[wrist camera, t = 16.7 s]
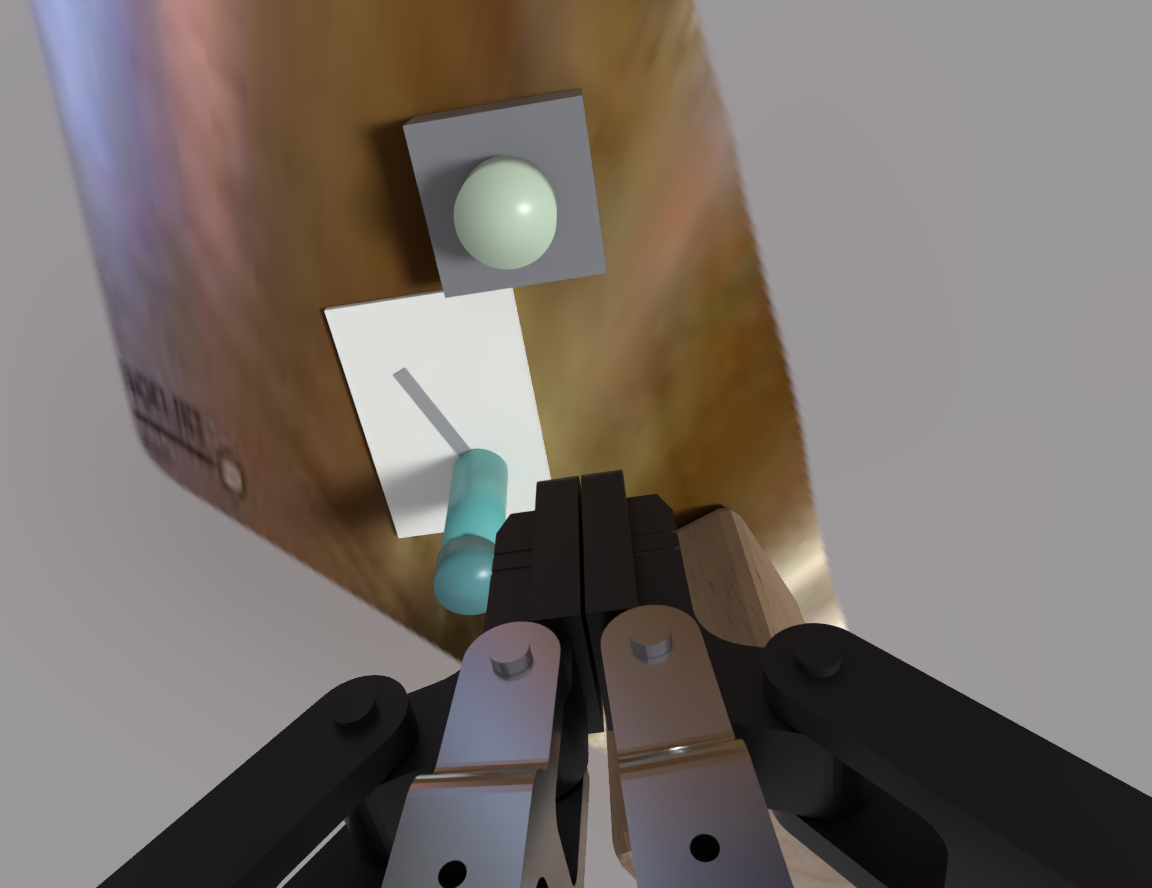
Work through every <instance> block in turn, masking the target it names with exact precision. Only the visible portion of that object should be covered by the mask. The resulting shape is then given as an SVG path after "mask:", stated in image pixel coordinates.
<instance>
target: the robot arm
mask: <svg viewBox="0 0 1152 888" xmlns="http://www.w3.org/2000/svg"><path fill="white" fill-rule="evenodd" d="M581 487H582V489H581ZM602 701H603V702H602ZM603 706H604V711H605V716H606V721H607V726H608V731H614V734H615V741H616V747H617V753H618V766H619V773H620V779H621V786H622V792H623V798H624V805H625V811H626V817H627V824H628V830H629V836H630V843H631V849H632V855H633V862H634V868H635V874H636V881H637V887H638V888H794V886H793V883H792V880H791V877H790V874H789V872H788V869H787V866H786V863H785V860H784V857H783V854H782V851H781V848H780V845H779V842H778V839H777V836H776V833H775V830H774V827H773V824H772V821H771V818H770V815H769V812H768V809H771V810H772V812H773V814H774V816H775V818H776V819H777V821H778V822H779V823H780V825H781V826H782V827H783V828H784V829H785V830H786V831H787V832H789V833H790V834H791V835H792V836H794V837H795V838H796V839H797V840H798V841H800V842H801V843H802V844H803V845H805V846H806V847H807V848H808V849H810V850H811V851H812V852H813V853H814V854H816V855H817V856H818V857H819V858H821V859H822V860H823V861H824V862H826V863H827V864H828V865H829V866H830V867H832V868H833V869H834V870H835V871H837V872H838V873H839V874H840V875H842V876H843V877H844V878H845V879H846V880H848V881H849V882H850V883H851V884H853V885H854V886H855V887H856V888H1152V797H1150V796H1148V795H1146V794H1144V793H1143V792H1141V791H1139V790H1137V789H1135V788H1133V787H1132V786H1130V785H1128V784H1126V783H1124V782H1123V781H1121V780H1119V779H1117V778H1115V777H1113V776H1112V775H1110V774H1108V773H1106V772H1104V771H1102V770H1101V769H1099V768H1097V767H1095V766H1093V765H1092V764H1090V763H1088V762H1086V761H1084V760H1082V759H1081V758H1079V757H1077V756H1075V755H1073V754H1071V753H1070V752H1068V751H1066V750H1064V749H1062V748H1060V747H1059V746H1057V745H1055V744H1053V743H1051V742H1049V741H1048V740H1046V739H1044V738H1042V737H1040V736H1039V735H1037V734H1035V733H1033V732H1031V731H1029V730H1028V729H1026V728H1024V727H1022V726H1020V725H1018V724H1017V723H1015V722H1013V721H1011V720H1009V719H1008V718H1006V717H1004V716H1002V715H1000V714H998V713H997V712H995V711H993V710H991V709H989V708H987V707H986V706H984V705H982V704H980V703H978V702H977V701H975V700H973V699H971V698H969V697H967V696H966V695H964V694H962V693H960V692H958V691H957V690H955V689H953V688H951V687H949V686H947V685H946V684H944V683H942V682H940V681H938V680H936V679H935V678H933V677H931V676H929V675H927V674H926V673H924V672H922V671H920V670H918V669H916V668H915V667H913V666H911V665H909V664H907V663H905V662H904V661H902V660H900V659H898V658H896V657H894V656H893V655H891V654H889V653H887V652H885V651H884V650H882V649H880V648H878V647H876V646H874V645H873V644H871V643H869V642H867V641H865V640H863V639H861V638H860V637H858V636H856V635H854V634H853V633H851V632H849V631H846V630H844V629H842V628H839V627H836V626H832V625H827V624H819V623H806V624H799V625H795V626H791V627H788V628H786V629H784V630H782V631H780V632H778V633H777V634H775V635H774V636H773V637H772V638H771V639H770V640H769V641H768V643H767V644H766V646H765V648H764V647H756V646H748V645H742V644H736V643H732V642H729V641H726V640H723V639H721V638H719V637H717V636H715V635H713V634H712V633H710V632H709V631H707V630H706V629H705V628H704V627H703V626H702V625H701V624H700V623H699V621H698V620H697V618H696V616H695V614H694V611H693V607H692V602H691V597H690V592H689V587H688V583H687V578H686V573H685V568H684V563H683V558H682V554H681V550H680V544H679V539H678V534H677V529H676V524H675V520H674V515H673V510H672V509H671V508H670V507H669V506H668V505H667V504H666V503H665V502H664V501H663V500H662V499H661V498H660V497H659V496H658V495H657V494H652V495H644V496H637V497H629V498H627V496H626V490H625V483H624V476H623V470H616V471H608V472H601V473H594V474H587V475H582V476H581V484H580V480H579V477H578V476H573V477H566V478H559V479H551V480H544V481H537V484H536V499H535V510H534V511H527V512H520V513H512V514H510V515H509V516H508V518H507V519H506V521H505V522H504V523H503V525H502V526H501V527H500V529H499V530H498V532H497V533H496V540H495V547H494V558H493V563H492V575H491V578H490V586H489V594H488V602H487V610H486V617H485V625H484V633H483V634H482V635H480V636H479V637H478V638H477V639H476V640H475V641H474V642H473V643H472V644H471V645H470V646H469V648H468V649H467V651H466V653H465V655H464V658H463V661H462V665H461V669H460V670H459V671H458V672H456V673H455V674H453V675H451V676H450V677H448V678H446V679H444V680H442V681H439V682H437V683H435V684H432V685H429V686H427V687H424V688H421V689H419V690H416V691H414V692H411V693H408V694H407V693H406V691H405V689H404V687H403V686H402V685H401V684H400V683H399V682H397V681H396V680H394V679H392V678H390V677H386V676H379V675H371V676H363V677H358V678H355V679H352V680H349V681H347V682H345V683H342V684H340V685H339V686H337V687H335V688H334V689H332V690H331V691H329V692H328V693H327V694H325V695H324V696H323V697H322V698H321V699H319V700H318V701H317V702H316V703H315V704H314V705H312V706H311V707H310V708H309V709H307V710H306V711H305V712H304V713H303V714H302V715H300V716H299V717H298V718H297V719H296V720H294V721H293V722H292V723H291V724H290V725H289V726H287V727H286V728H285V729H284V730H283V731H281V732H280V733H279V734H278V735H277V736H276V737H274V738H273V739H272V740H271V741H270V742H268V743H267V744H266V745H265V746H264V747H262V748H261V749H260V750H259V751H258V752H257V753H255V754H254V755H253V756H252V757H251V758H250V759H248V760H247V761H246V762H245V763H244V764H242V765H241V766H240V767H239V768H238V769H236V770H235V771H234V772H233V773H232V774H230V775H229V776H228V777H227V778H226V779H225V780H223V781H222V782H221V783H220V784H219V785H217V786H216V787H215V788H214V789H213V790H212V791H210V792H209V793H208V794H207V795H206V796H204V797H203V798H202V799H201V800H200V801H198V802H197V803H196V804H195V805H194V806H193V807H191V808H190V809H189V810H188V811H187V812H185V813H184V814H183V815H182V816H181V817H179V819H177V820H176V821H175V822H174V823H172V824H171V825H170V826H169V827H168V828H166V829H165V830H164V831H163V832H162V833H161V834H159V835H158V836H157V837H156V838H155V839H153V840H152V841H151V842H150V843H149V844H148V845H146V846H145V847H144V848H143V849H142V850H140V851H139V852H138V853H137V854H136V855H134V856H133V857H132V858H131V859H130V860H128V861H127V862H126V863H125V864H124V865H123V866H121V867H120V868H119V869H118V870H117V871H115V872H114V873H113V874H112V875H111V876H110V877H108V878H107V879H106V880H105V881H104V882H102V883H101V884H100V885H99V886H98V887H96V888H276V887H277V886H278V885H279V883H281V881H282V880H283V879H284V878H285V877H286V876H287V875H288V874H289V873H290V872H291V871H292V870H293V869H294V868H295V867H296V866H297V865H298V864H299V863H300V862H301V861H302V860H303V859H304V858H306V856H308V854H310V853H311V852H312V851H313V850H314V849H315V848H316V847H317V846H318V845H319V843H321V842H322V841H323V840H324V838H326V837H327V836H328V835H329V834H330V833H331V832H332V831H333V830H334V829H335V828H336V827H337V826H338V825H339V824H340V823H341V822H342V821H343V820H344V821H345V823H346V824H345V825H344V826H343V827H342V828H341V830H339V831H338V832H337V833H336V834H335V835H334V836H333V837H332V838H331V840H330V841H328V842H327V843H326V844H325V845H324V846H323V847H322V848H321V849H320V850H319V851H318V852H317V853H316V854H315V855H314V856H313V857H312V858H311V859H310V860H309V861H308V862H307V863H306V864H305V865H304V866H303V867H302V868H301V869H300V870H299V871H298V872H297V873H296V874H295V875H294V876H293V877H292V878H291V879H290V880H289V881H288V882H287V883H286V884H285V885H284V886H283V887H282V888H584V874H585V856H586V837H587V819H588V802H589V775H588V770H587V765H588V734H590V733H599V732H604V722H603Z"/></svg>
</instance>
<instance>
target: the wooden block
mask: <svg viewBox="0 0 1152 888" xmlns="http://www.w3.org/2000/svg"><path fill="white" fill-rule="evenodd" d="M677 534H678V539H679V544H680V550H681V554H682V558H683V563H684V568H685V573H686V578H687V583H688V587H689V592H690V597H691V602H692V607H693V611H694V614H695V616H696V618H697V620H698V621H699V623H700V624H701V625H702V626H703V627H704V628H705V629H706V630H707V631H709V632H710V633H712V634H713V635H715V636H717V637H719V638H721V639H723V640H726V641H729V642H732V643H736V644H742V645H748V646H756V647H764V648H765V646H766V644H767V643H768V641H769V640H770V639H771V638H772V637H773V636H774V635H775V634H777V633H778V632H780V631H782V630H784V629H786V628H788V627H791V626H795V625H799V624H805V623H804V620H803V618H802V615H801V612H800V610H799V607H798V604H797V602H796V600H795V599H794V597H793V595H792V594H791V592H790V591H789V589H788V588H787V586H786V585H785V583H784V582H783V580H782V579H781V577H780V576H779V574H778V573H777V571H776V570H775V568H774V566H773V565H772V563H771V562H770V560H769V559H768V557H767V556H766V554H765V553H764V551H763V550H762V548H761V547H760V545H759V544H758V542H757V540H756V539H755V537H754V536H753V534H752V533H751V531H750V530H749V528H748V527H747V525H746V524H745V522H744V521H743V519H742V518H741V516H740V515H738V514H737V513H735V512H734V511H733V510H731V509H730V508H729V507H725V508H719V509H717V510H715V511H713V512H711V513H709V514H707V515H705V516H703V517H701V518H699V519H697V520H695V521H693V522H691V523H689V524H687V525H685V526H683V527H681V528H679V529H677ZM606 732H607V750H608V767H609V784H610V785H609V786H610V804H611V821H612V840H613V846H614V850H615V853H616V855H617V857H618V859H619V861H620V863H621V865H622V867H624V868H625V869H626V870H627V871H628V872H629V873H630V874H631V875H632V876H633V877H634V878H635V879H636V874H635V868H634V862H633V855H632V849H631V843H630V836H629V830H628V824H627V817H626V811H625V805H624V798H623V792H622V786H621V779H620V773H619V766H618V753H617V747H616V741H615V734H614V731H608V726H607V721H606ZM768 812H769V815H770V818H771V821H772V824H773V827H774V830H775V833H776V836H777V839H778V842H779V845H780V848H781V851H782V854H783V857H784V860H785V863H786V866H787V869H788V872H789V874H790V877H791V880H792V883H793V886H794V888H856V887H855V886H854V885H853V884H851V883H850V882H849V881H848V880H846V879H845V878H844V877H843V876H842V875H840V874H839V873H838V872H837V871H835V870H834V869H833V868H832V867H830V866H829V865H828V864H827V863H826V862H824V861H823V860H822V859H821V858H819V857H818V856H817V855H816V854H814V853H813V852H812V851H811V850H810V849H808V848H807V847H806V846H805V845H803V844H802V843H801V842H800V841H798V840H797V839H796V838H795V837H794V836H792V835H791V834H790V833H789V832H787V831H786V830H785V829H784V828H783V827H782V826H781V825H780V823H779V822H778V821H777V819H776V818H775V816H774V814H773V812H772V810H771V809H768Z"/></svg>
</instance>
